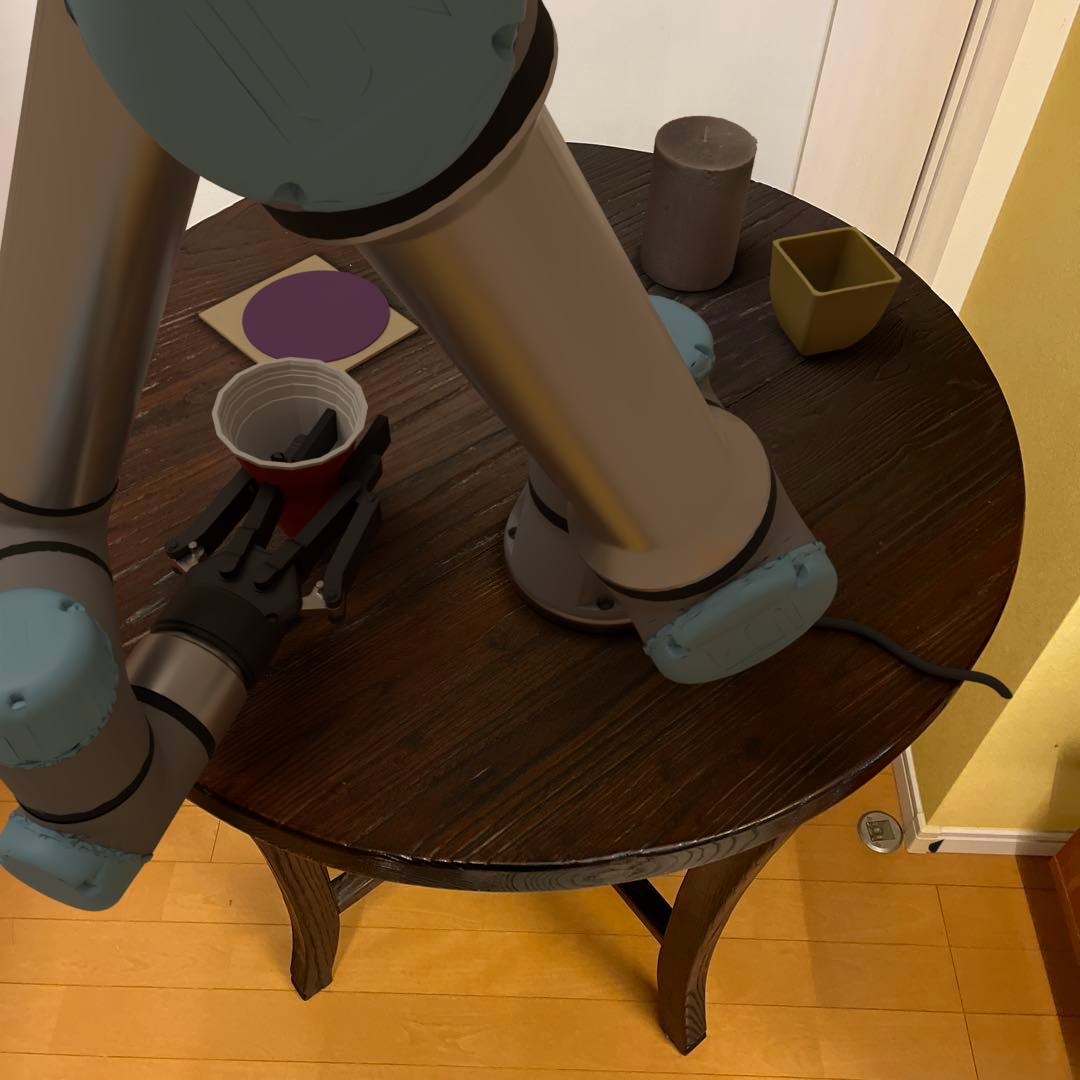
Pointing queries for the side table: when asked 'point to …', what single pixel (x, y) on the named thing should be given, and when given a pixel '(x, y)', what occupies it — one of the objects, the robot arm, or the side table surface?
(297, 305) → the place mat
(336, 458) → the plastic cup
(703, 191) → the pillar candle
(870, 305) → the flower pot
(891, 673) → the side table surface
